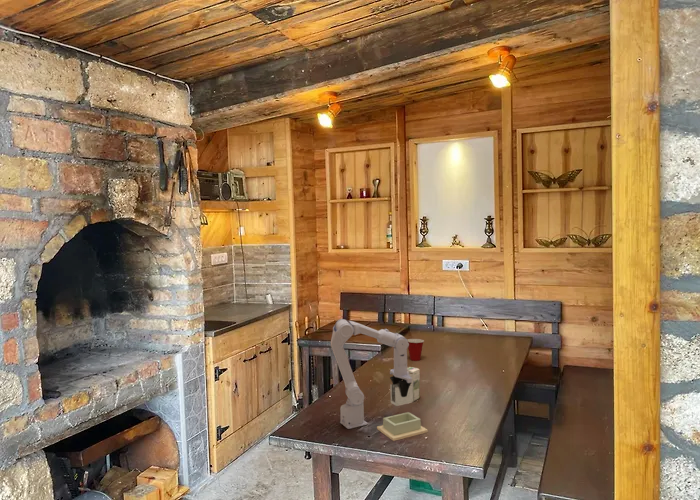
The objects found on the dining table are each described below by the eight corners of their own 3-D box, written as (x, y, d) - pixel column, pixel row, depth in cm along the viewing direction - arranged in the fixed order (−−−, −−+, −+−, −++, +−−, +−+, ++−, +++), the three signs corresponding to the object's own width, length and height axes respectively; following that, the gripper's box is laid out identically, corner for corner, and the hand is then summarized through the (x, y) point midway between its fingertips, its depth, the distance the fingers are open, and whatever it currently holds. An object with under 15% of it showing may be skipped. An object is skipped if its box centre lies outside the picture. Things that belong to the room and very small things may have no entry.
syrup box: (409, 396, 250) (409, 366, 249) (420, 398, 247) (419, 368, 245) (403, 399, 246) (402, 369, 245) (413, 402, 242) (413, 371, 241)
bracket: (396, 406, 219) (396, 387, 219) (390, 402, 223) (390, 384, 223) (412, 402, 223) (412, 384, 222) (406, 399, 227) (406, 381, 226)
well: (393, 441, 202) (393, 428, 201) (376, 429, 213) (376, 417, 213) (427, 432, 209) (427, 420, 208) (409, 421, 220) (409, 409, 220)
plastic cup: (427, 358, 314) (426, 338, 313) (421, 362, 304) (420, 342, 303) (410, 356, 319) (409, 336, 318) (403, 361, 309) (403, 341, 308)
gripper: (418, 366, 217) (418, 398, 218) (399, 358, 230) (399, 388, 231) (403, 369, 214) (404, 401, 215) (385, 360, 227) (386, 391, 228)
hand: (401, 394), depth 223 cm, fingers closed on bracket, 4 cm apart
